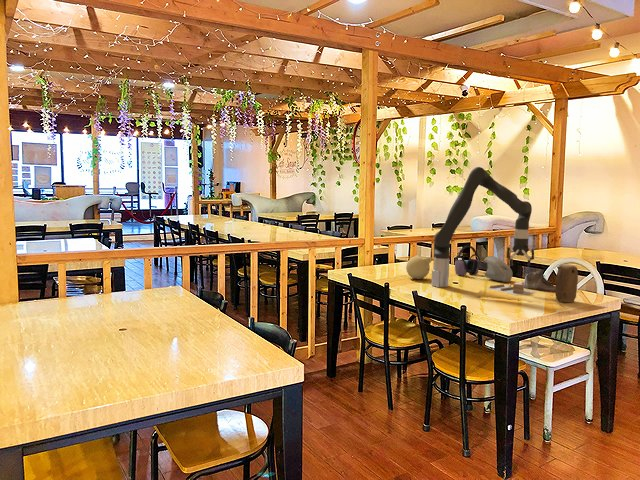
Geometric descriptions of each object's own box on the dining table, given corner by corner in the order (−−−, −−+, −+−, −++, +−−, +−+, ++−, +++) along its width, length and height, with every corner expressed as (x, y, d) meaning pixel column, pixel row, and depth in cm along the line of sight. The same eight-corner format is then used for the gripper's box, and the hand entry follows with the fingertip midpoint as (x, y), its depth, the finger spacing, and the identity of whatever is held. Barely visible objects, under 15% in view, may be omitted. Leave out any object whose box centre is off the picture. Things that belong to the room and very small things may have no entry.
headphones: (480, 275, 354) (482, 245, 352) (462, 277, 346) (463, 247, 343) (470, 272, 362) (471, 244, 360) (452, 274, 354) (453, 245, 352)
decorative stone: (501, 283, 325) (502, 259, 323) (481, 279, 340) (482, 256, 338) (515, 282, 330) (516, 258, 329) (494, 277, 345) (495, 255, 344)
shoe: (572, 295, 295) (573, 273, 293) (564, 298, 287) (566, 276, 286) (528, 288, 312) (529, 268, 311) (520, 290, 305) (521, 270, 303)
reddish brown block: (522, 294, 288) (523, 284, 288) (512, 293, 290) (513, 283, 290) (523, 290, 296) (524, 282, 296) (514, 290, 298) (514, 281, 298)
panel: (516, 298, 285) (517, 291, 284) (485, 290, 303) (485, 284, 303) (535, 295, 293) (536, 288, 292) (503, 288, 311) (504, 282, 311)
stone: (564, 304, 271) (567, 266, 269) (552, 301, 277) (554, 264, 275) (578, 301, 278) (580, 264, 275) (565, 299, 283) (568, 262, 281)
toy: (434, 280, 332) (435, 257, 330) (414, 282, 326) (415, 258, 325) (420, 276, 347) (421, 253, 346) (400, 277, 342) (401, 254, 340)
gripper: (535, 237, 290) (533, 266, 292) (508, 236, 296) (506, 264, 298) (535, 238, 283) (533, 268, 285) (507, 237, 289) (505, 266, 291)
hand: (519, 266), depth 292 cm, fingers open, 8 cm apart
